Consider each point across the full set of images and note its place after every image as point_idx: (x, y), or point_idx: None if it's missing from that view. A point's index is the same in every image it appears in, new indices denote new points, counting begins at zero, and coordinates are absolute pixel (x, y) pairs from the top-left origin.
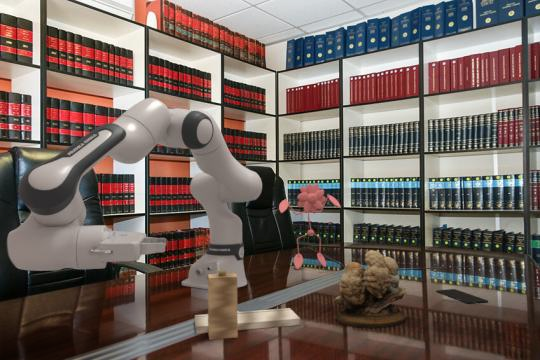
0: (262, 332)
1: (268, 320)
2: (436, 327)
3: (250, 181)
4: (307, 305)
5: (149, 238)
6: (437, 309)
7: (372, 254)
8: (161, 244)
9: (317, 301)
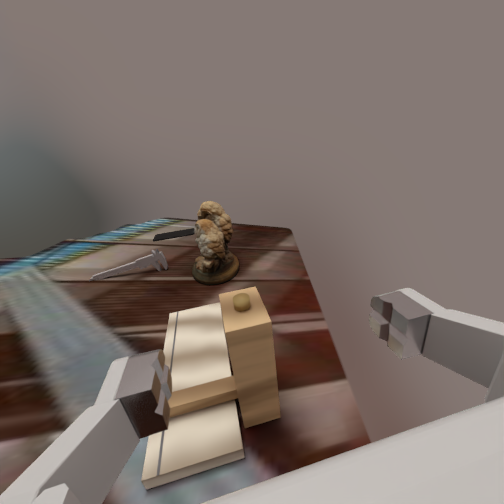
0: None
1: (221, 330)
2: (242, 245)
3: None
4: (141, 306)
5: (69, 496)
6: None
7: (214, 204)
8: (419, 297)
9: (130, 299)
